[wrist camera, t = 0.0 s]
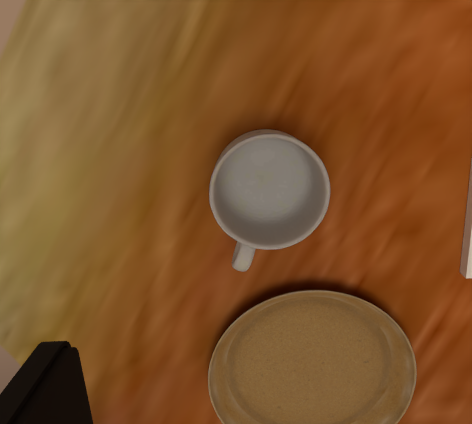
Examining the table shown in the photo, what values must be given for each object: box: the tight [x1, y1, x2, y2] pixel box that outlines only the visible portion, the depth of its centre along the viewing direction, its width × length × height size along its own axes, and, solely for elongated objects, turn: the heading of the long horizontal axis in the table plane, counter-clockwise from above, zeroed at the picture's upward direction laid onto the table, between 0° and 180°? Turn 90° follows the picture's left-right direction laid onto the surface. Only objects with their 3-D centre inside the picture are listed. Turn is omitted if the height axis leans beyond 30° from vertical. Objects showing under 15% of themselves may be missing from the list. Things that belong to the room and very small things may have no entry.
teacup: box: [209, 129, 330, 271], centre depth 43 cm, size 14×11×8 cm
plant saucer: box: [208, 290, 416, 424], centre depth 52 cm, size 24×24×3 cm
